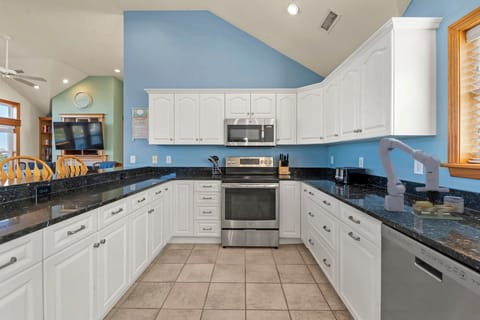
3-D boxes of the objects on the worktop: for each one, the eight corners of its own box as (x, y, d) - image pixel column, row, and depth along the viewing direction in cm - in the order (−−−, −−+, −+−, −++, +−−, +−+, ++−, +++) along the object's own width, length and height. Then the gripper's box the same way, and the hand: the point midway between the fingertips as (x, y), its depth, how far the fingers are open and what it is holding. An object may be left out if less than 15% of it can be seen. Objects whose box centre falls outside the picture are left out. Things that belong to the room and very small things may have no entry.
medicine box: (443, 210, 148) (443, 196, 147) (447, 210, 150) (447, 195, 150) (460, 213, 141) (460, 198, 140) (463, 212, 143) (463, 197, 142)
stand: (418, 217, 133) (418, 209, 133) (411, 213, 144) (411, 205, 143) (463, 220, 127) (463, 211, 127) (452, 214, 138) (452, 206, 138)
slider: (419, 208, 135) (419, 203, 135) (416, 206, 140) (415, 201, 140) (432, 208, 134) (432, 203, 134) (428, 206, 138) (428, 201, 138)
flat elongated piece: (418, 211, 134) (418, 207, 134) (412, 207, 142) (412, 204, 142) (461, 212, 129) (461, 208, 128) (452, 208, 137) (452, 205, 137)
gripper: (419, 180, 134) (419, 205, 134) (452, 180, 130) (452, 206, 130) (414, 179, 140) (414, 203, 141) (445, 179, 136) (445, 204, 137)
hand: (432, 204), depth 136 cm, fingers closed
